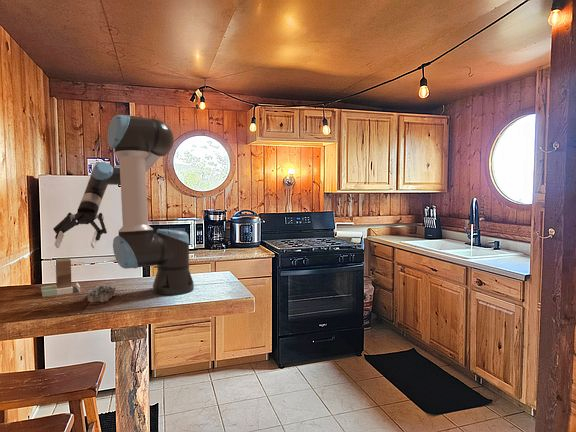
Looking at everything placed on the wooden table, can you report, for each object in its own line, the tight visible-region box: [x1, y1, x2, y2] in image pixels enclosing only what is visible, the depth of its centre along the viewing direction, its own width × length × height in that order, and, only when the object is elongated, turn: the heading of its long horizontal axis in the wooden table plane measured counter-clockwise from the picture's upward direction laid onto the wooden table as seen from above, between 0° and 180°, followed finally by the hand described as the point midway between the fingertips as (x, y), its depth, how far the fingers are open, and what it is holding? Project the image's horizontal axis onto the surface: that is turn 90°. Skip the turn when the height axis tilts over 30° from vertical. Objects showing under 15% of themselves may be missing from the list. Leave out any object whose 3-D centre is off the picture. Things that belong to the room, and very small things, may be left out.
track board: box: [40, 282, 81, 297], centre depth 146 cm, size 7×12×2 cm, turn 125°
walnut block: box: [55, 257, 73, 289], centre depth 146 cm, size 4×4×10 cm
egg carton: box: [85, 284, 117, 303], centre depth 140 cm, size 11×8×4 cm
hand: (74, 246), depth 156 cm, fingers open, 13 cm apart
